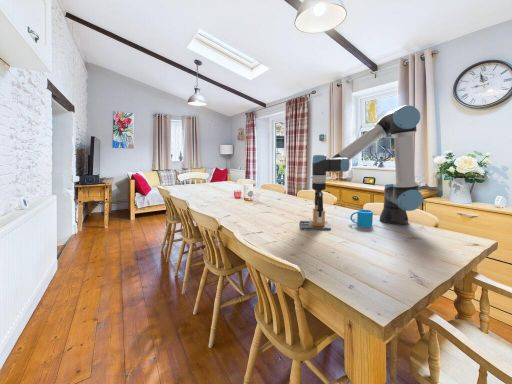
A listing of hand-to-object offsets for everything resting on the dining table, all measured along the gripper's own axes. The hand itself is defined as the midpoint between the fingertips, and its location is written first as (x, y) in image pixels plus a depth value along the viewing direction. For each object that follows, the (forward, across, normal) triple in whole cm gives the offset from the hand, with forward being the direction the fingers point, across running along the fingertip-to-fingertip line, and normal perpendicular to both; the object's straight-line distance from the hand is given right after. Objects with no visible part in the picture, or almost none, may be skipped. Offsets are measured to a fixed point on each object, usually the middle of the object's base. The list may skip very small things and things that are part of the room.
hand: (318, 219), depth 140 cm
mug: (+4, -5, +25) cm, 26 cm away
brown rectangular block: (+3, 0, 0) cm, 3 cm away
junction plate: (+4, 0, -2) cm, 5 cm away
